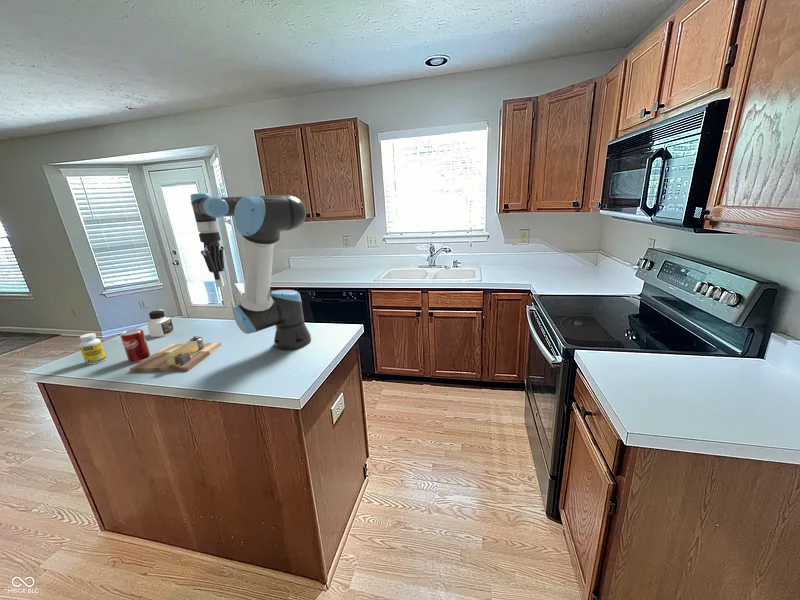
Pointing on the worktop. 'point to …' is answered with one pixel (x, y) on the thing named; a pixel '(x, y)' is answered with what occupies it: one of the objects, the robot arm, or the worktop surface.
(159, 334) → the medicine bottle
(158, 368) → the wooden cutting board
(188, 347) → the swing bar
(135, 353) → the soda can
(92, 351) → the pill bottle
